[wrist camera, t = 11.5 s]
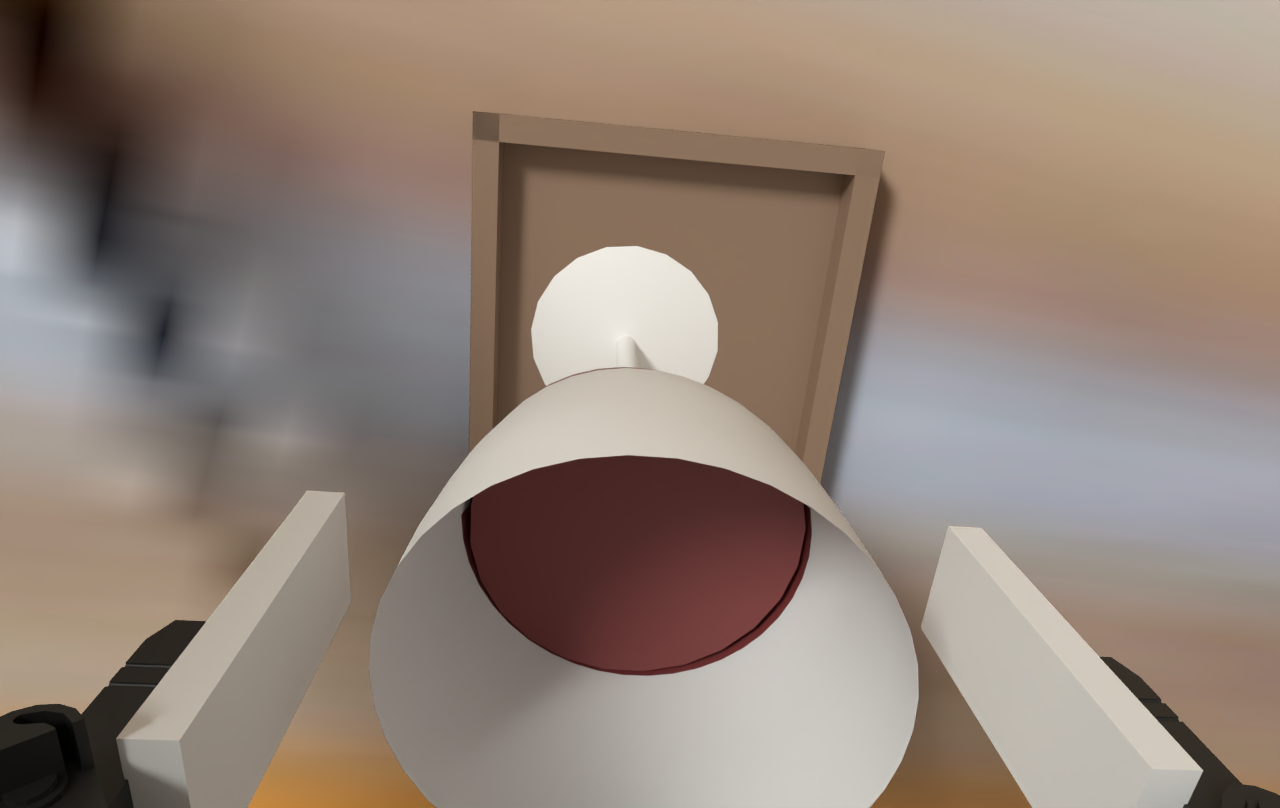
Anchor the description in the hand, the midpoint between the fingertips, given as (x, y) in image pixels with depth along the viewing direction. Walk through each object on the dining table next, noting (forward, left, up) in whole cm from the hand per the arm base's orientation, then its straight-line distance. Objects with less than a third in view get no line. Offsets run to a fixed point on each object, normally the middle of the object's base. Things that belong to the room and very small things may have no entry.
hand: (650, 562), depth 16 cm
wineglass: (0, 0, -18) cm, 18 cm away
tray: (+2, +1, -19) cm, 19 cm away
